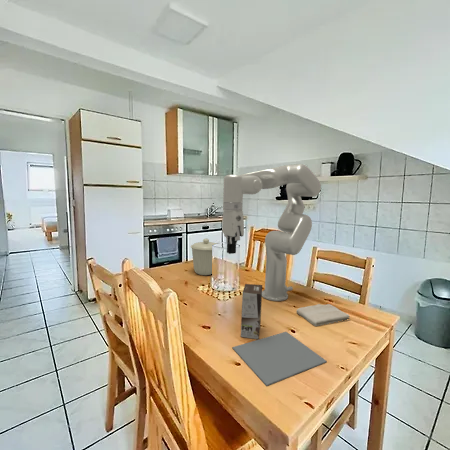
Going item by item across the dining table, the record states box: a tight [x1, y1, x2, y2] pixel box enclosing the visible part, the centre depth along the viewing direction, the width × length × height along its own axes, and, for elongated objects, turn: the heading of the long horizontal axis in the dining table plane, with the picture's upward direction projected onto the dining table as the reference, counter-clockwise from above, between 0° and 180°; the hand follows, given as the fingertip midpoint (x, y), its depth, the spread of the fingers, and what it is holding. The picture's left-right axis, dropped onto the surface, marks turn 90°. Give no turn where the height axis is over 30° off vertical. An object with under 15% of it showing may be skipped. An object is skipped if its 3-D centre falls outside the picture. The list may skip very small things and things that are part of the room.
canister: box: [190, 238, 218, 276], centre depth 157 cm, size 18×18×21 cm
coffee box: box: [240, 283, 263, 340], centre depth 92 cm, size 9×6×16 cm
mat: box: [232, 331, 327, 387], centre depth 80 cm, size 22×18×1 cm
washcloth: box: [295, 303, 350, 327], centre depth 106 cm, size 12×18×3 cm, turn 111°
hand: (231, 252), depth 104 cm, fingers closed
